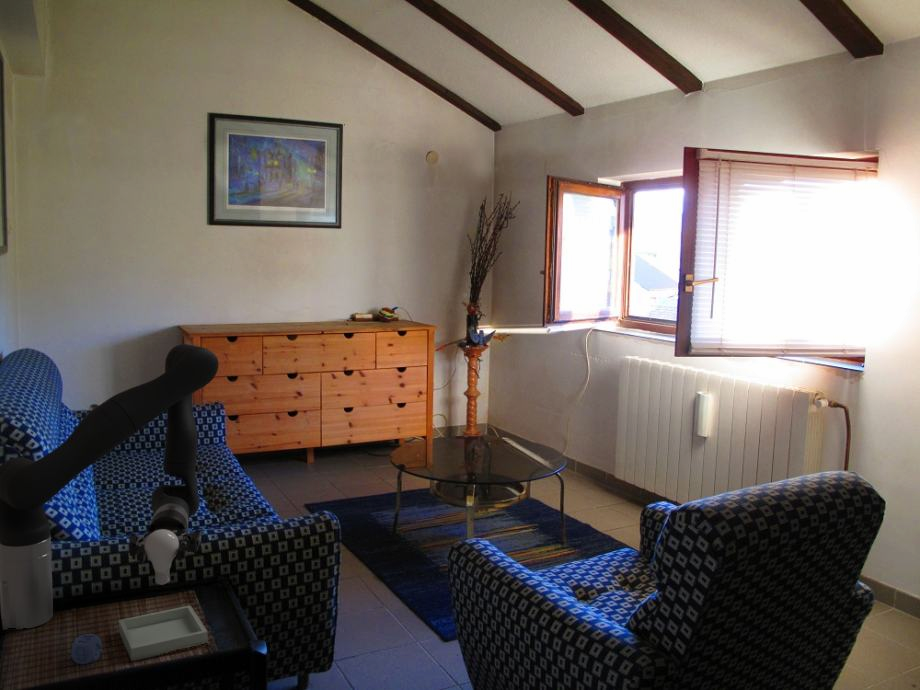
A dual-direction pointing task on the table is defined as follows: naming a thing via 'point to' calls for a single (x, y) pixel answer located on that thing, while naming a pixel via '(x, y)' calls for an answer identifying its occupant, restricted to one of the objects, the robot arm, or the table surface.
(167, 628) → the parts tray
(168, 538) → the lightbulb
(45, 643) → the table surface
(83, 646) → the decorative dice
